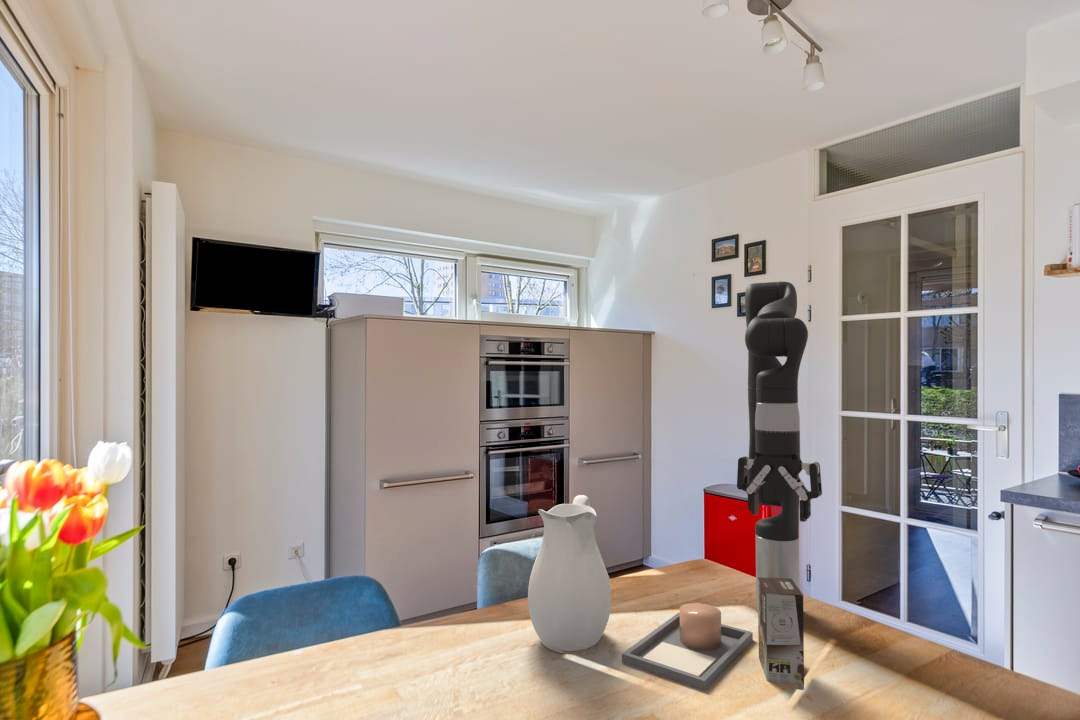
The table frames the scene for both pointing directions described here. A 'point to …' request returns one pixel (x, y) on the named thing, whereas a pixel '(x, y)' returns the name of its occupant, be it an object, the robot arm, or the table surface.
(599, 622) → the pitcher
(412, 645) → the table surface
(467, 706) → the table surface
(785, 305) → the robot arm
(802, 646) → the coffee box
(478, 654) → the table surface
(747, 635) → the serving tray
